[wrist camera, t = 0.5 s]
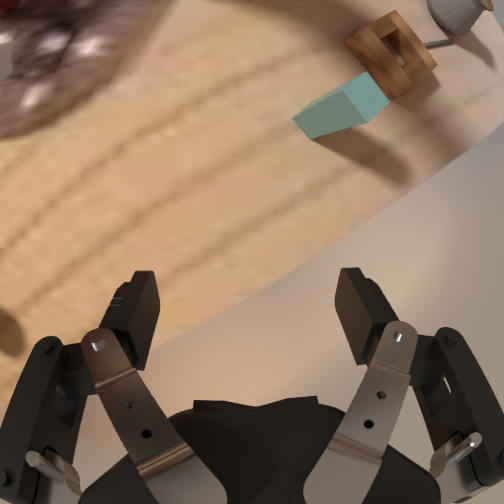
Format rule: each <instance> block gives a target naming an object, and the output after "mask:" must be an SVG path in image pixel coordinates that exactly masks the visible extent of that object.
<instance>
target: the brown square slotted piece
mask: <svg viewBox="0 0 504 504" xmlns="http://www.w3.org/2000/svg"><path fill="white" fill-rule="evenodd" d="M384 36H385V37H386V38H387V40H388V41H389V42H390V43H391V44H392V46H393V47H394V48H395V50H396V51H397V52H398V53H399V55H400V56H401V57H402V59H403V60H404V61H405V63H406V64H404V65H403V66H402V67H401V66H400V65H399V63H398V62H397V61H396V59H395V58H394V57H393V56H392V54H391V53H390V52H389V50H388V49H387V48H386V47H385V46H384V44H383V43H382V42H381V41H380V39H381V38H383V37H384ZM344 43H345V44H346V45H347V46H348V47H349V48H350V50H351V51H352V52H353V53H354V54H355V55H356V57H357V58H358V59H359V60H360V61H361V63H362V64H363V65H364V66H365V67H366V69H367V70H368V71H369V72H370V74H371V75H372V76H373V78H374V79H375V80H376V81H377V83H378V84H379V85H380V87H381V88H382V89H383V91H384V92H385V94H386V95H387V96H388V98H389V99H391V98H394V97H398V96H401V95H404V94H406V93H407V92H408V91H409V90H410V89H412V88H413V87H414V86H415V85H416V84H417V83H418V82H419V81H420V80H422V79H423V78H424V77H425V76H426V75H427V74H428V73H429V72H431V71H432V70H433V69H434V68H435V67H436V66H437V63H436V62H435V60H434V59H433V57H432V56H431V55H430V53H429V52H428V50H427V49H426V47H425V46H424V45H423V43H422V42H421V41H420V39H419V38H418V37H417V35H416V34H415V33H414V32H413V30H412V29H411V28H410V26H409V25H408V24H407V23H406V22H405V20H404V19H403V18H402V17H401V16H400V14H399V13H398V12H397V11H396V10H394V11H392V12H390V13H388V14H387V15H385V16H383V17H381V18H379V19H377V20H376V21H374V22H372V23H370V24H368V25H367V26H365V27H363V28H361V29H360V30H358V31H356V32H355V33H354V34H352V35H351V36H350V37H349V38H347V39H346V40H345V41H344Z"/></svg>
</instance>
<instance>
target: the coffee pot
mask: <svg viewBox="0 0 504 504" xmlns="http://www.w3.org/2000/svg"><path fill="white" fill-rule="evenodd" d="M427 7H428V10H429V12H430V14H431V15H432V17H433V18H434V19H435V21H436V22H437V23H438V24H439V25H440V26H442V27H443V28H444V29H446V30H448V31H450V32H452V33H454V34H457V35H466V34H467V33H468V31H469V30H470V29H471V27H472V26H473V25H474V23H475V22H476V20H477V19H478V18H479V16H480V15H481V13H482V12H483V11H484V10H488V11H493V5H492V2H491V0H427Z"/></svg>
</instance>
